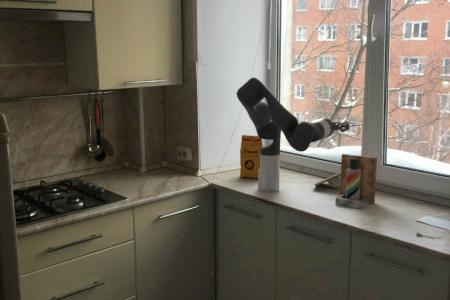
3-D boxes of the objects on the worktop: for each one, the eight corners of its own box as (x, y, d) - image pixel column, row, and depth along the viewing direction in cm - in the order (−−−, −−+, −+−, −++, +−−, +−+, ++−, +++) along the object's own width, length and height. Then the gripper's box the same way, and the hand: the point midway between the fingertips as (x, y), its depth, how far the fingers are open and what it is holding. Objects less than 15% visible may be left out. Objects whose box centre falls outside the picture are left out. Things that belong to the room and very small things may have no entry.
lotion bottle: (343, 201, 230) (345, 156, 226) (356, 201, 231) (358, 156, 227) (348, 205, 225) (350, 159, 221) (361, 205, 225) (363, 159, 221)
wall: (322, 200, 246) (348, 181, 242) (310, 185, 248) (336, 166, 244) (327, 196, 262) (352, 178, 257) (316, 182, 263) (340, 164, 259)
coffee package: (259, 180, 267) (260, 137, 263) (237, 178, 272) (237, 135, 268) (266, 176, 276) (267, 134, 271) (245, 173, 281) (245, 133, 277)
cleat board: (331, 204, 227) (333, 158, 223) (341, 197, 237) (343, 153, 233) (365, 209, 219) (368, 162, 215) (374, 202, 229) (377, 157, 225)
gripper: (303, 137, 204) (319, 130, 217) (338, 140, 196) (353, 133, 210) (303, 118, 202) (319, 112, 215) (339, 120, 195) (353, 115, 208)
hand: (336, 123), depth 212 cm, fingers open, 8 cm apart
